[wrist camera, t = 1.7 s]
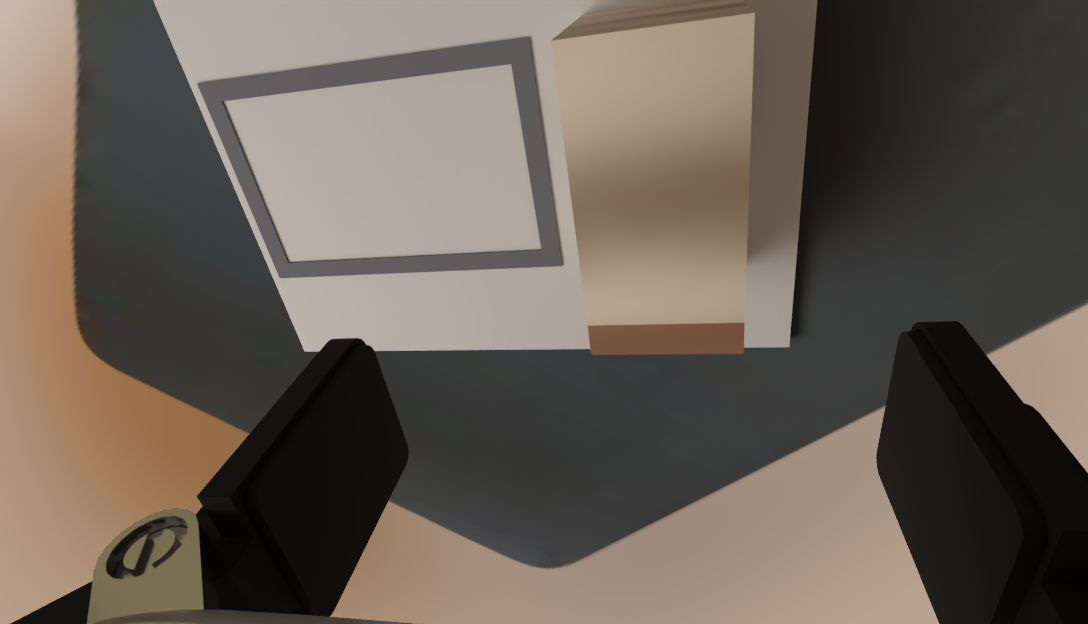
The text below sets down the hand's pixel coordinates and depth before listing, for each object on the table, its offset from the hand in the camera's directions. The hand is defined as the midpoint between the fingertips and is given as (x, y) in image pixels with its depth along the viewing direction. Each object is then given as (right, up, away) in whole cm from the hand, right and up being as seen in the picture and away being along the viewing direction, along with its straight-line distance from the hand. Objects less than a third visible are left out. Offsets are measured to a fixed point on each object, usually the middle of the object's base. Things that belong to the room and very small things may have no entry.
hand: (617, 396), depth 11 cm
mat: (-4, +8, +13) cm, 16 cm away
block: (+3, +8, +11) cm, 14 cm away
